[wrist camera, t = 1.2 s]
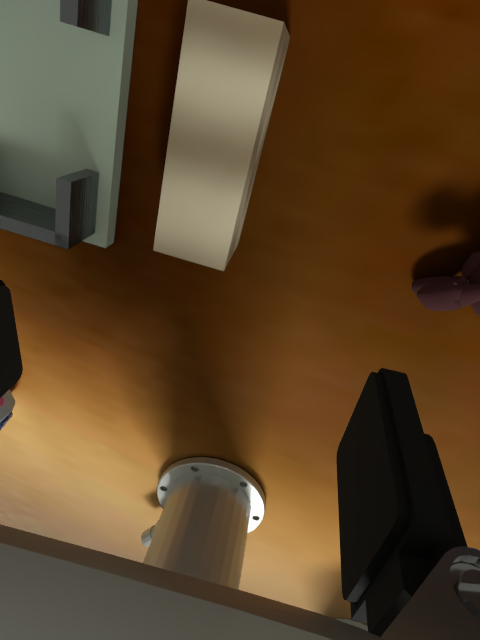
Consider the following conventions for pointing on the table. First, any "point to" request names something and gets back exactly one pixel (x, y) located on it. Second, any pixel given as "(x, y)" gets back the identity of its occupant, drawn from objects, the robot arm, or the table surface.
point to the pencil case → (6, 407)
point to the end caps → (72, 189)
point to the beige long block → (217, 129)
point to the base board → (63, 103)
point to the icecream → (452, 288)
